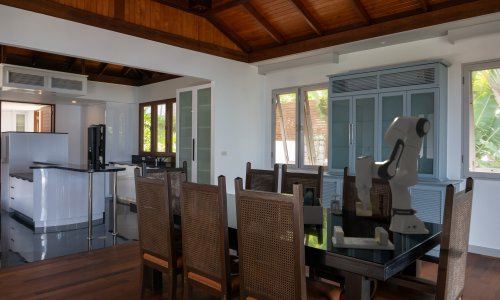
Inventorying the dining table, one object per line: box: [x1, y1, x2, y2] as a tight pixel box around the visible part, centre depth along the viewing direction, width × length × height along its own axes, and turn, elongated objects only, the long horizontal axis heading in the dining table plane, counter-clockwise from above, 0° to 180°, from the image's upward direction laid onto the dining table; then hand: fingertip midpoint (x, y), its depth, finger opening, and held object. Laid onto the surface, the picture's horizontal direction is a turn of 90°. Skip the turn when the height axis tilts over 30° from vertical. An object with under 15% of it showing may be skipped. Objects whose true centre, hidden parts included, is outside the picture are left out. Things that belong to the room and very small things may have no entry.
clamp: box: [303, 186, 317, 206], centre depth 263 cm, size 35×9×21 cm, turn 166°
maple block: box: [355, 201, 372, 217], centre depth 204 cm, size 4×8×7 cm, turn 81°
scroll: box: [364, 190, 387, 220], centre depth 263 cm, size 15×15×20 cm
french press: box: [328, 181, 345, 215], centre depth 285 cm, size 10×12×25 cm
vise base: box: [331, 225, 395, 251], centre depth 192 cm, size 30×14×8 cm, turn 81°
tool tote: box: [302, 197, 324, 225], centre depth 263 cm, size 14×40×12 cm, turn 171°
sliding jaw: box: [374, 226, 389, 245], centre depth 191 cm, size 4×14×6 cm, turn 171°
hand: (364, 208), depth 204 cm, fingers closed on maple block, 4 cm apart
